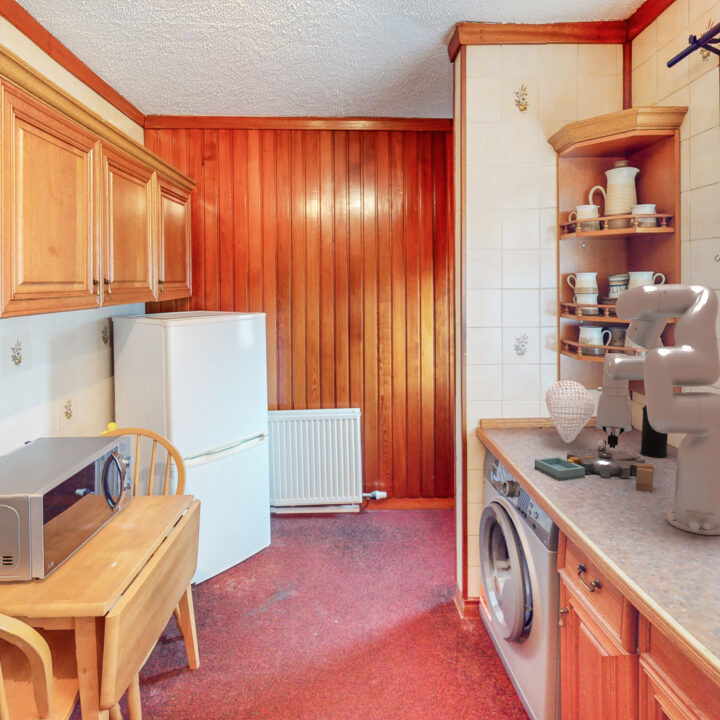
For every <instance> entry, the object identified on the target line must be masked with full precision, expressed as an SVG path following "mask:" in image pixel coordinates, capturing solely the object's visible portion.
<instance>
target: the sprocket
mask: <svg viewBox="0 0 720 720" xmlns="http://www.w3.org/2000/svg"><path fill="white" fill-rule="evenodd" d="M597 441H598V442H597V448H592V447H591V446H590V447H589V446H588V447H582V449H578V448H573V449H571V450H570V452H569V451H568V452H567V453H566V460H568V459H570V460H572V461H574V463H575V464H577V465H580V466H582V467H584V468H585V474H586V475H591V474H598V475H600V477H601V478H602V477H603V478H610V476H617V477H619V478H622V479H623V478H624V479H625V478H626V479H628V478H631V475H632V476H635V477H637V463H644V464H646V460H645V459H642V457H641V456H640V455H638V454H630V453H629V454H628V451H626V450H622V449H619V450H610V449H609V448H610V447H609V448H608V447H607V440H606V439H605V438H604V439H603V438H600V439H598V440H597Z"/></svg>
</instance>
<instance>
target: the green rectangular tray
mask: <svg viewBox="0 0 720 720" xmlns="http://www.w3.org/2000/svg"><path fill="white" fill-rule="evenodd" d="M534 470H536V471H538V470H539V471H538V472H540V471H541V473H542V472H543V473H542V474H544V473H545V475H546V474H547V475H546V476H548V475H549V476H548V477H550V476H551V477H550V478H552V477H553V478H552V479H554V478H555V480H556V481H558V482H562V481H569V480H568V479H570V480H575V479H576V478H577V479H582V478H583V477H585V474H586V473H585V468H584V467H582V466H580V465H577V464H575V463H574V461H572V460H570V459H568V460H567V459H565V458H563V457H560V456H554V457H547V458H546V457H545V458H538V459H537V458H536V459H534ZM561 480H562V481H561Z"/></svg>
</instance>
